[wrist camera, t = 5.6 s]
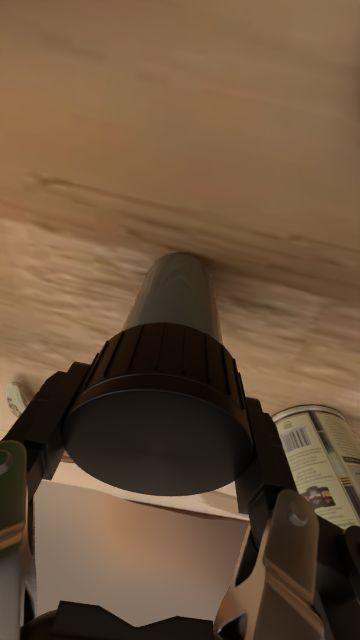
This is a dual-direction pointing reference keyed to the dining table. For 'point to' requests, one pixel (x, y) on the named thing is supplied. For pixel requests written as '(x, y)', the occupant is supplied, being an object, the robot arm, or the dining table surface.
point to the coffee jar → (177, 296)
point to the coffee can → (323, 461)
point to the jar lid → (161, 413)
